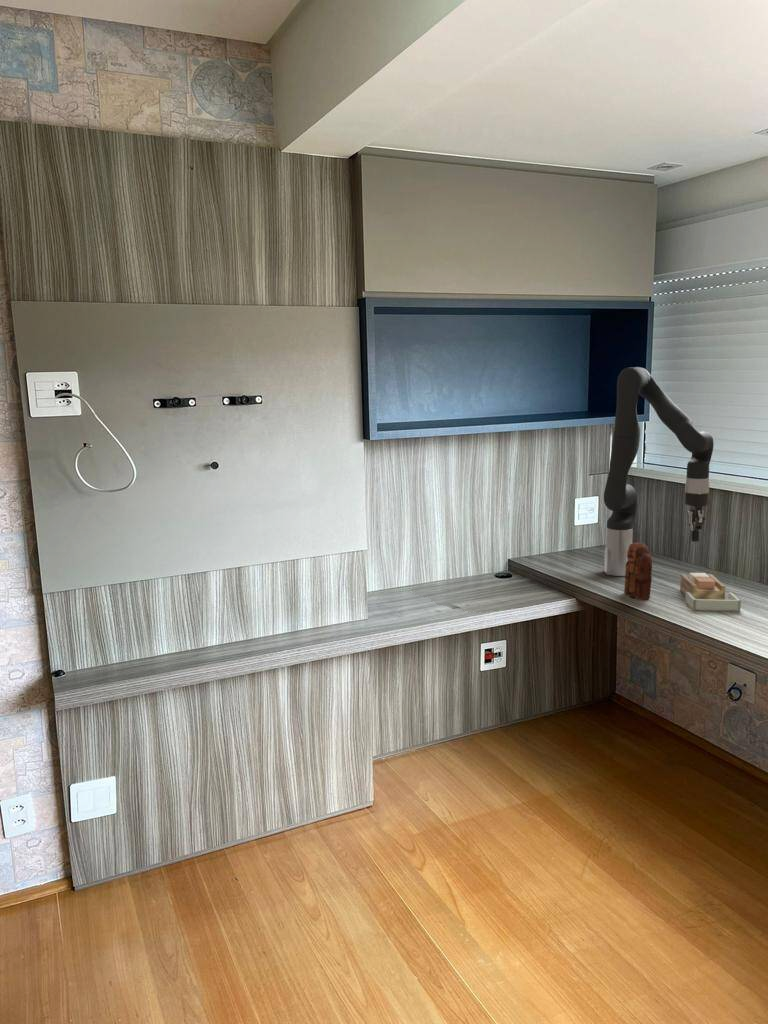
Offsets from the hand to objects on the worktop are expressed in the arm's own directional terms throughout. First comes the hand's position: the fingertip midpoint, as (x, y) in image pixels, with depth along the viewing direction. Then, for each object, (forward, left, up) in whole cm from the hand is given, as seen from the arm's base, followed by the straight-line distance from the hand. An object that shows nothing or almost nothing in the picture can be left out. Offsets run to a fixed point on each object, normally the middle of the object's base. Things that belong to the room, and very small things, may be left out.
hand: (694, 541), depth 264 cm
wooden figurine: (-21, -12, -16) cm, 29 cm away
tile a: (0, -8, -12) cm, 15 cm away
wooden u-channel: (0, -11, -16) cm, 20 cm away
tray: (0, -23, -16) cm, 29 cm away
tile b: (0, -14, -12) cm, 19 cm away
